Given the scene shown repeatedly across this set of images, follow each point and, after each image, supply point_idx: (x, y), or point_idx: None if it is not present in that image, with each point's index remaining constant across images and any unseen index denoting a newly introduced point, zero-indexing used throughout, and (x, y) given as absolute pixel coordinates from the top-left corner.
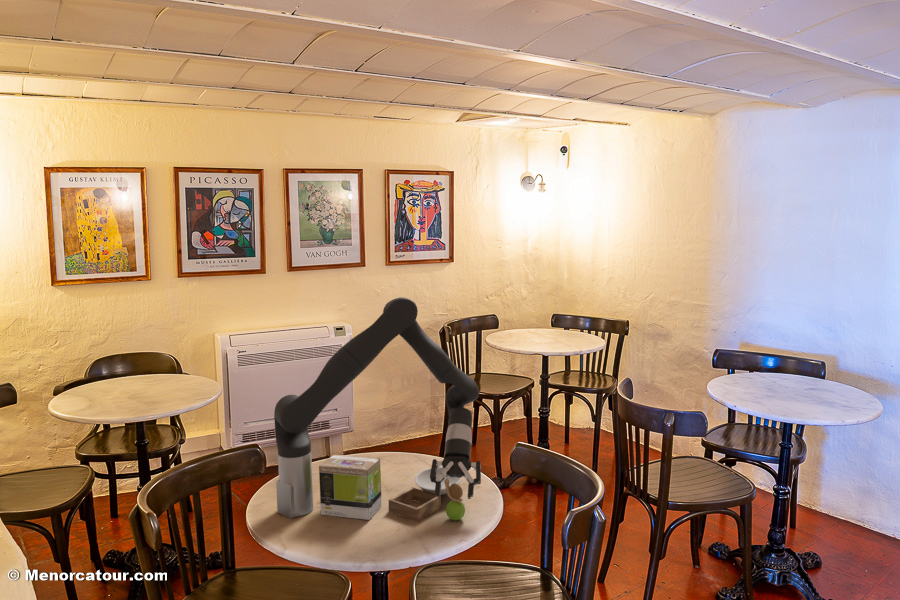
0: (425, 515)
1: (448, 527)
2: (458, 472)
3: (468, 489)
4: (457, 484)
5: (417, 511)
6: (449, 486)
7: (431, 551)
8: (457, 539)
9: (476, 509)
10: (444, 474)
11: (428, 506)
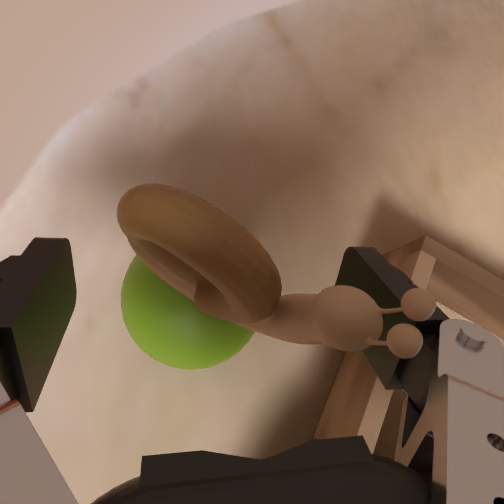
0: None
1: None
2: (198, 497)
3: (37, 273)
4: (182, 215)
5: (417, 239)
6: (288, 317)
7: (257, 17)
8: (157, 99)
9: None
10: (447, 380)
11: None
